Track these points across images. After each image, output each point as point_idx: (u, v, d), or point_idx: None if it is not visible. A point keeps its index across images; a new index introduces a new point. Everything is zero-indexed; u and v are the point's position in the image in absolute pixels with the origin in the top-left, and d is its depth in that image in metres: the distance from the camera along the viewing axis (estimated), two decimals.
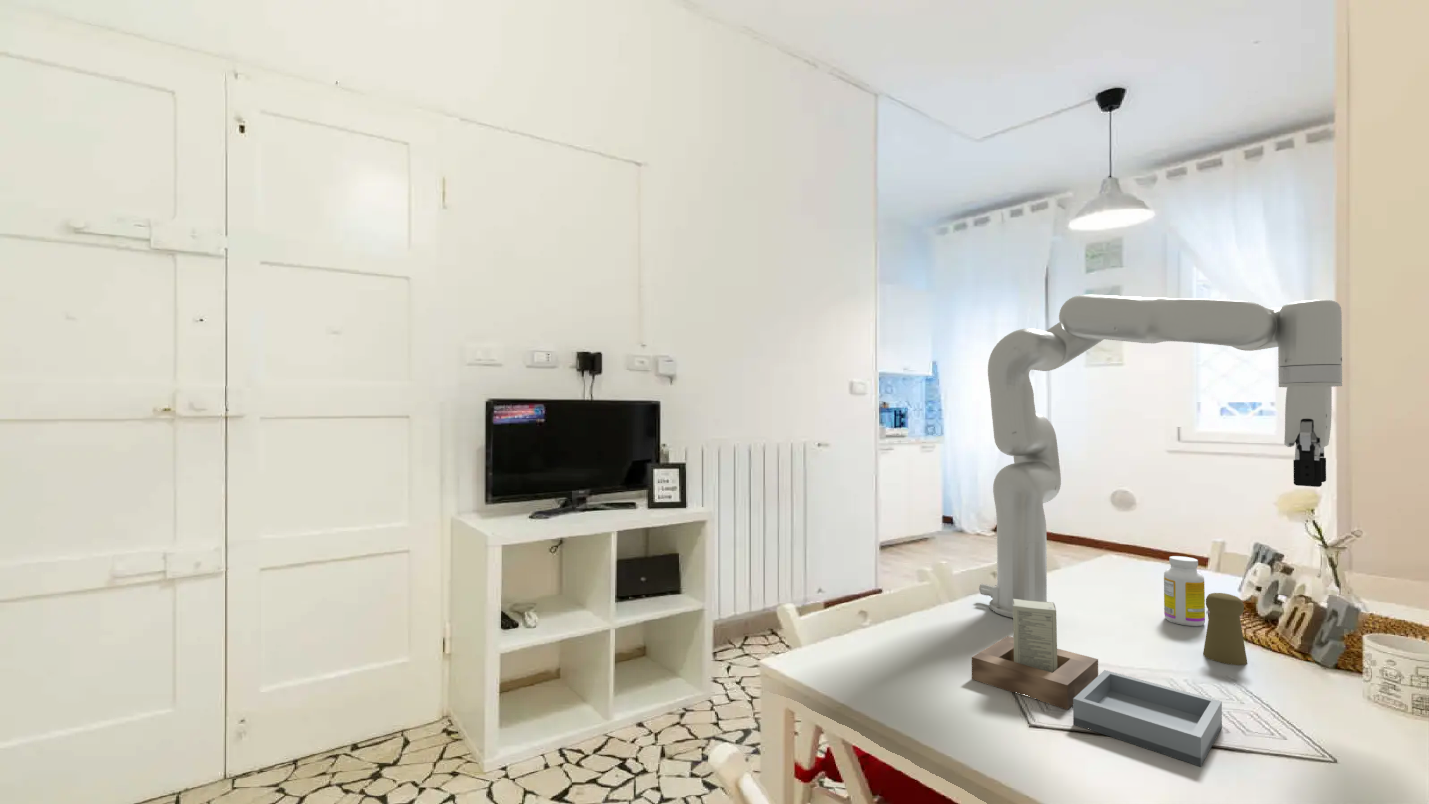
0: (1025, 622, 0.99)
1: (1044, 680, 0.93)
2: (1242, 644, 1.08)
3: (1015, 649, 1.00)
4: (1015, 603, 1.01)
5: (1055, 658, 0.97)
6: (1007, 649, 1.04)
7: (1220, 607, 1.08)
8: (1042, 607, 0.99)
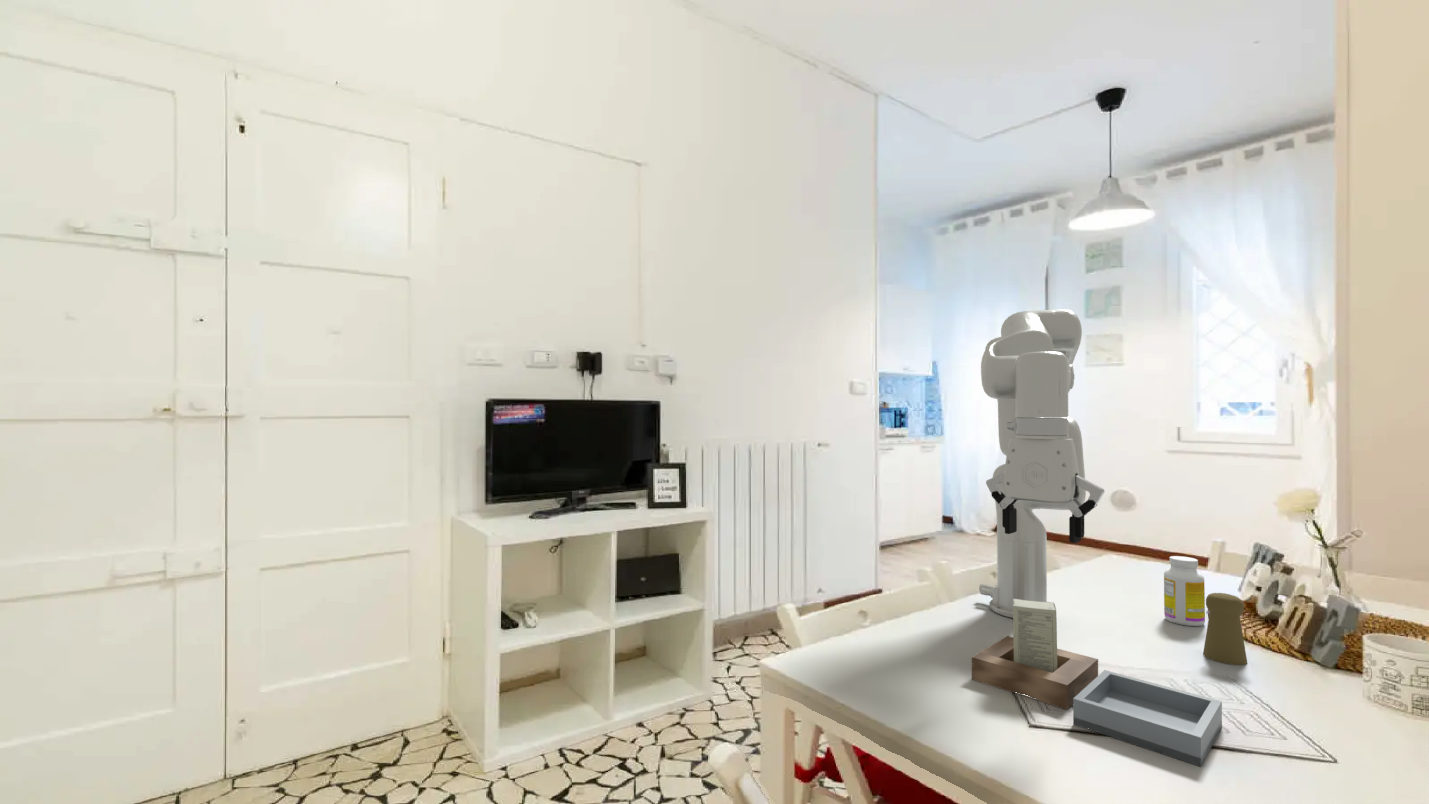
0: (1025, 622, 0.99)
1: (1044, 680, 0.93)
2: (1242, 644, 1.08)
3: (1015, 649, 1.00)
4: (1015, 603, 1.01)
5: (1055, 658, 0.97)
6: (1007, 649, 1.04)
7: (1220, 607, 1.08)
8: (1042, 607, 0.99)
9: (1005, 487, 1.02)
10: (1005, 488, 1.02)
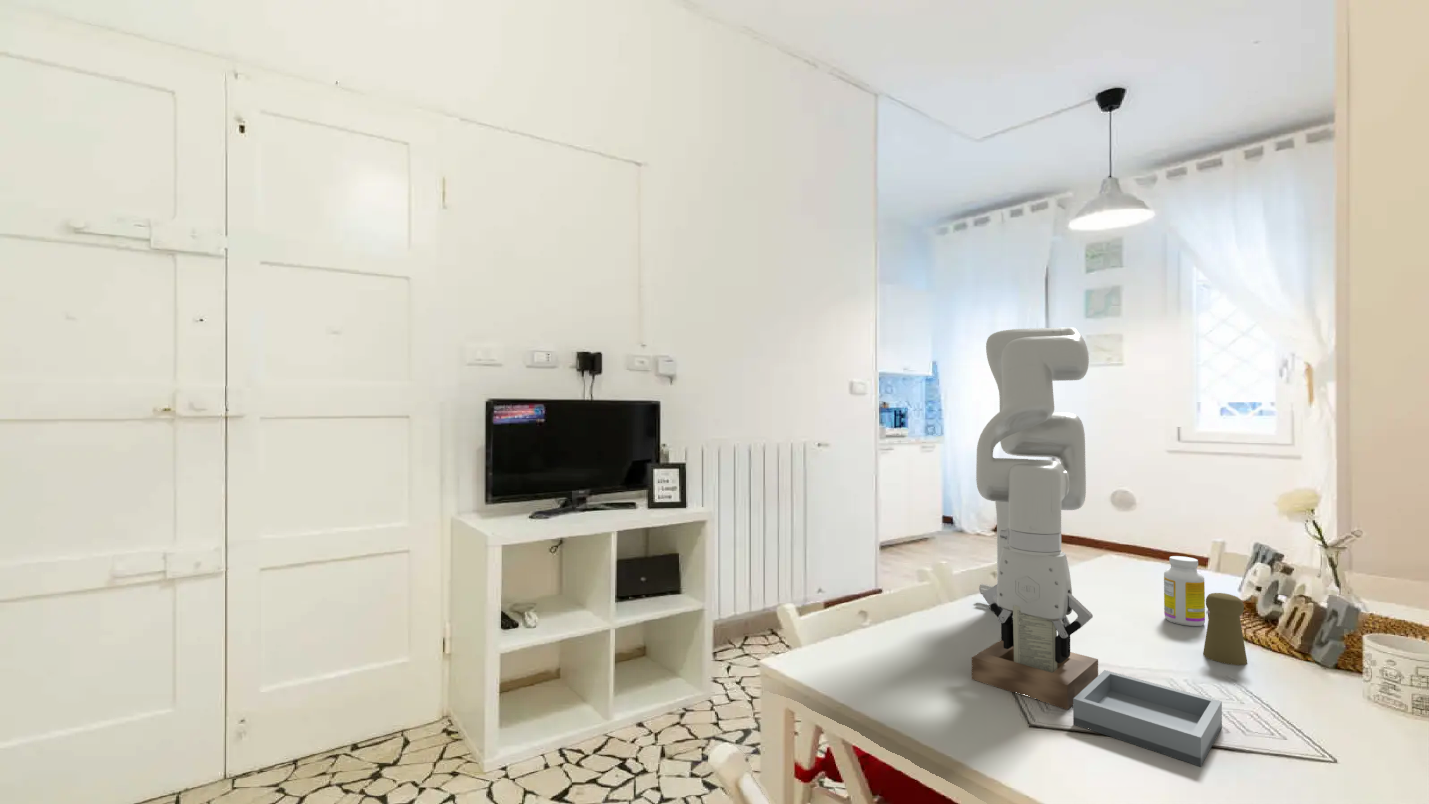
0: (1025, 622, 0.99)
1: (1044, 680, 0.93)
2: (1242, 644, 1.08)
3: (1015, 649, 1.00)
4: None
5: None
6: (1007, 649, 1.04)
7: (1220, 607, 1.08)
8: None
9: (998, 597, 1.02)
10: (998, 599, 1.02)
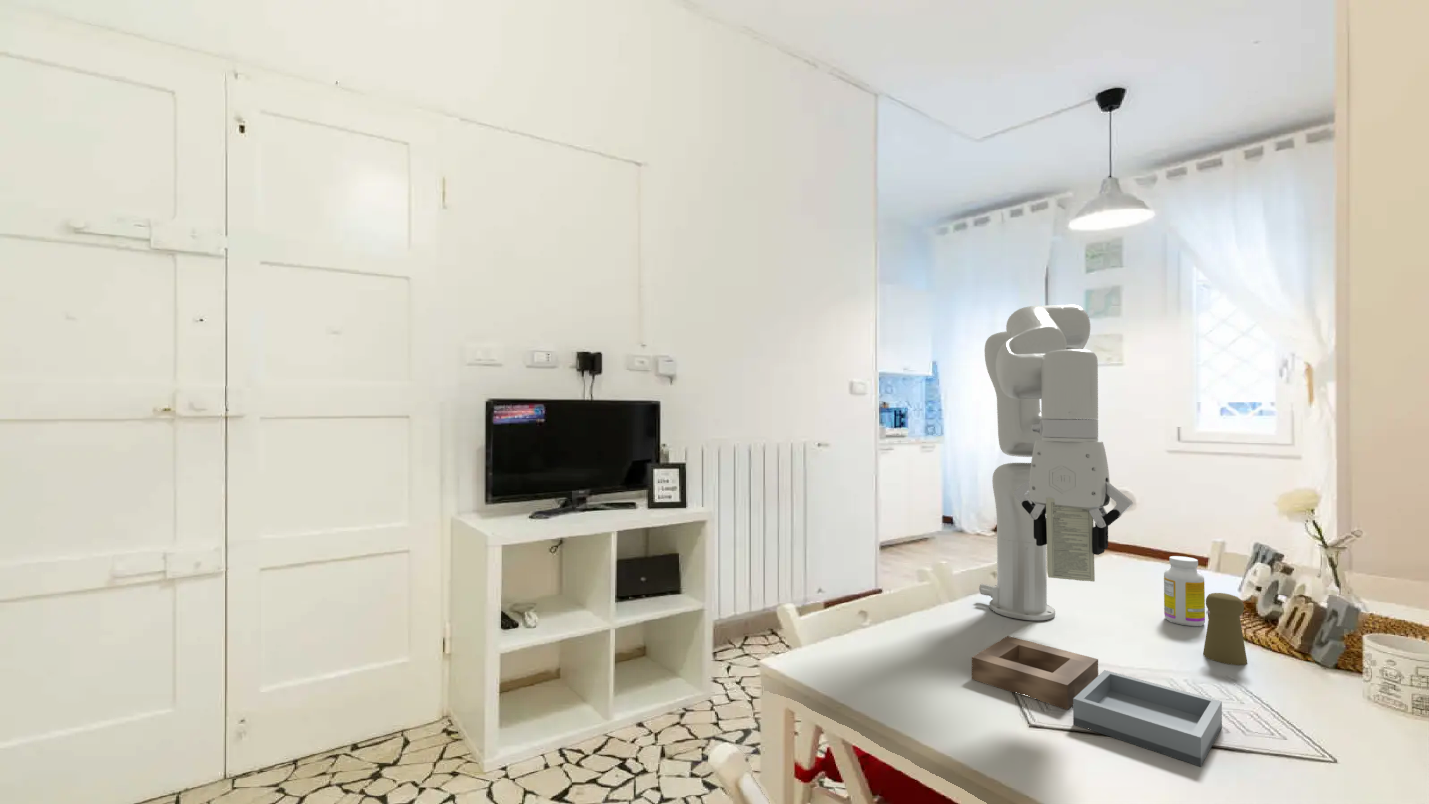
0: (1059, 514, 0.94)
1: (1044, 680, 0.93)
2: (1242, 644, 1.08)
3: (1049, 543, 0.95)
4: None
5: None
6: (1007, 649, 1.04)
7: (1220, 607, 1.08)
8: None
9: (1030, 492, 0.97)
10: (1030, 493, 0.97)
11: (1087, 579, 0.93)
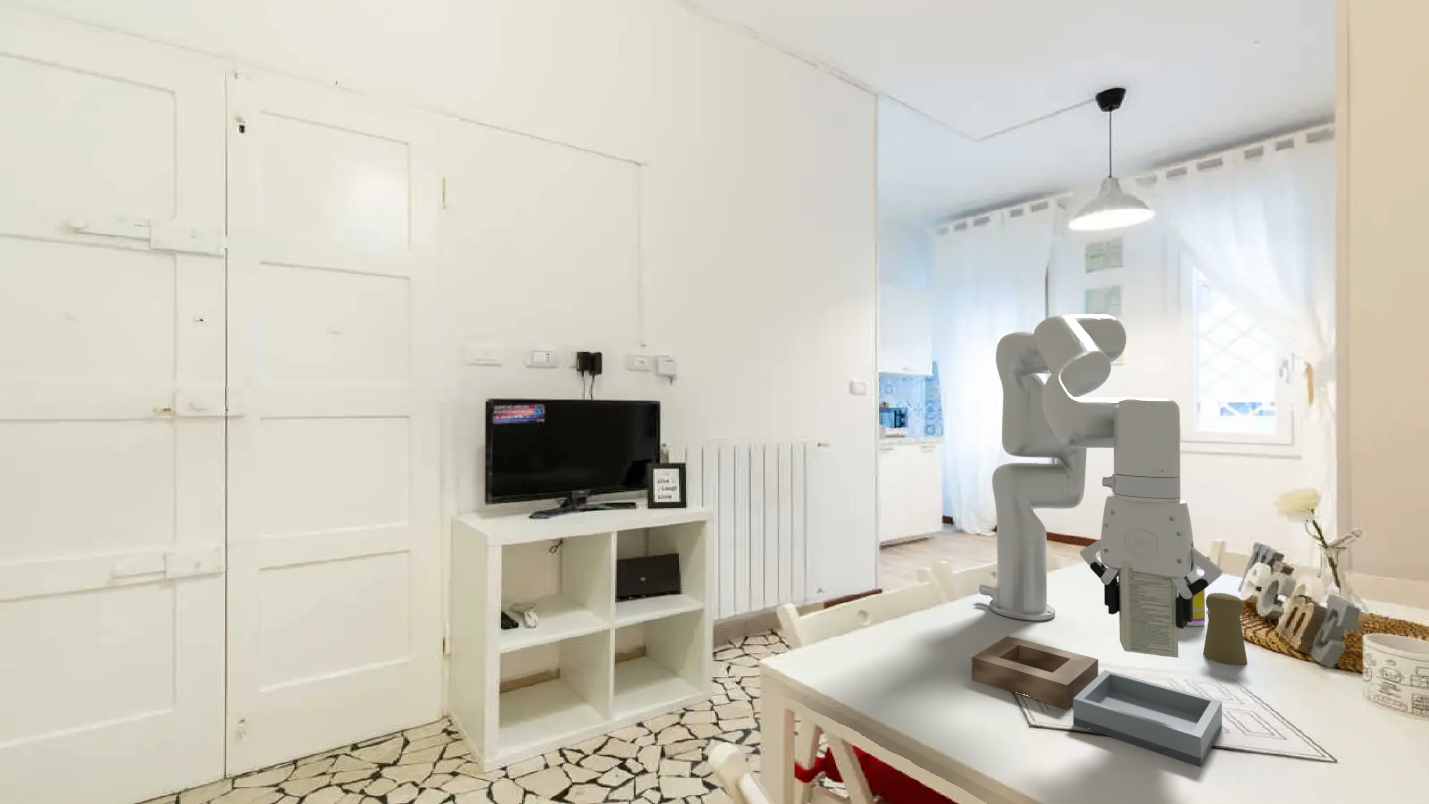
0: (1137, 581, 0.85)
1: (1044, 680, 0.93)
2: (1242, 644, 1.08)
3: (1125, 613, 0.85)
4: None
5: (1175, 623, 0.83)
6: (1007, 649, 1.04)
7: (1220, 607, 1.08)
8: None
9: (1102, 554, 0.88)
10: (1102, 556, 0.88)
11: (1170, 655, 0.83)
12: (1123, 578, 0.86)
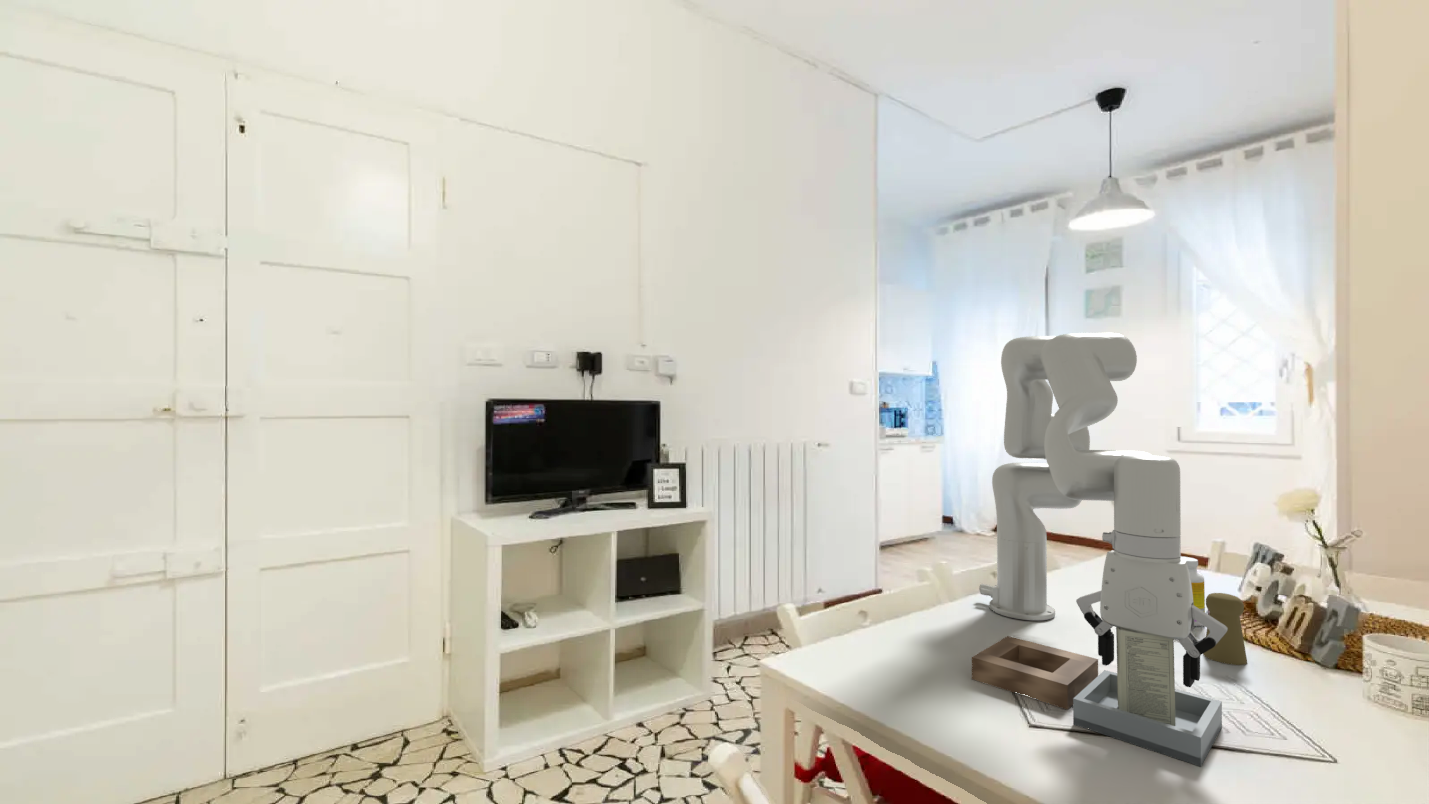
0: (1134, 649, 0.85)
1: (1044, 680, 0.93)
2: (1242, 644, 1.08)
3: (1122, 681, 0.86)
4: None
5: (1172, 692, 0.83)
6: (1007, 649, 1.04)
7: (1220, 607, 1.08)
8: None
9: (1102, 611, 0.88)
10: (1102, 612, 0.88)
11: None
12: (1120, 646, 0.86)
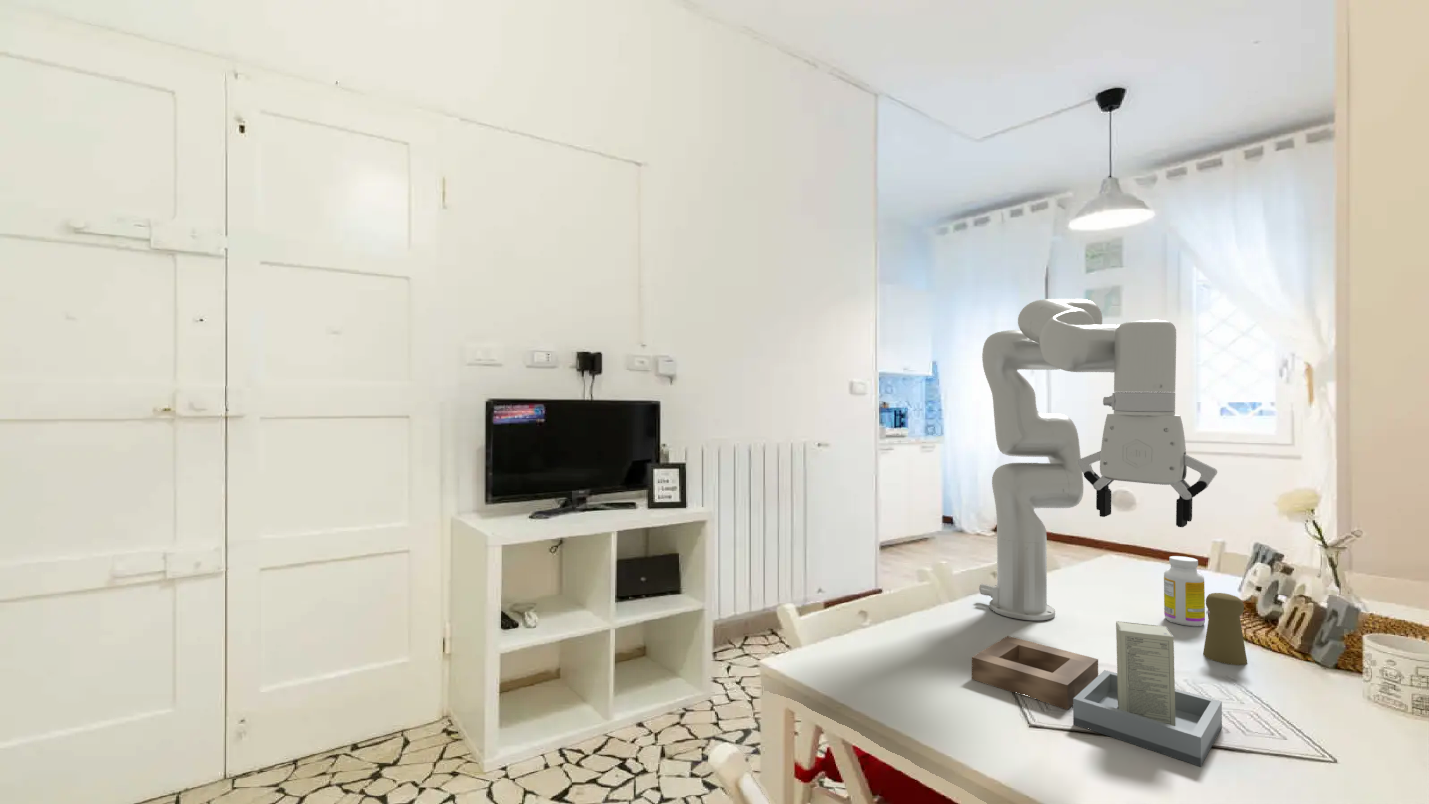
0: (1134, 649, 0.85)
1: (1044, 680, 0.93)
2: (1242, 644, 1.08)
3: (1122, 681, 0.86)
4: (1121, 627, 0.87)
5: (1172, 692, 0.83)
6: (1007, 649, 1.04)
7: (1220, 607, 1.08)
8: (1155, 632, 0.85)
9: (1101, 467, 0.95)
10: (1101, 468, 0.95)
11: None
12: (1120, 646, 0.86)
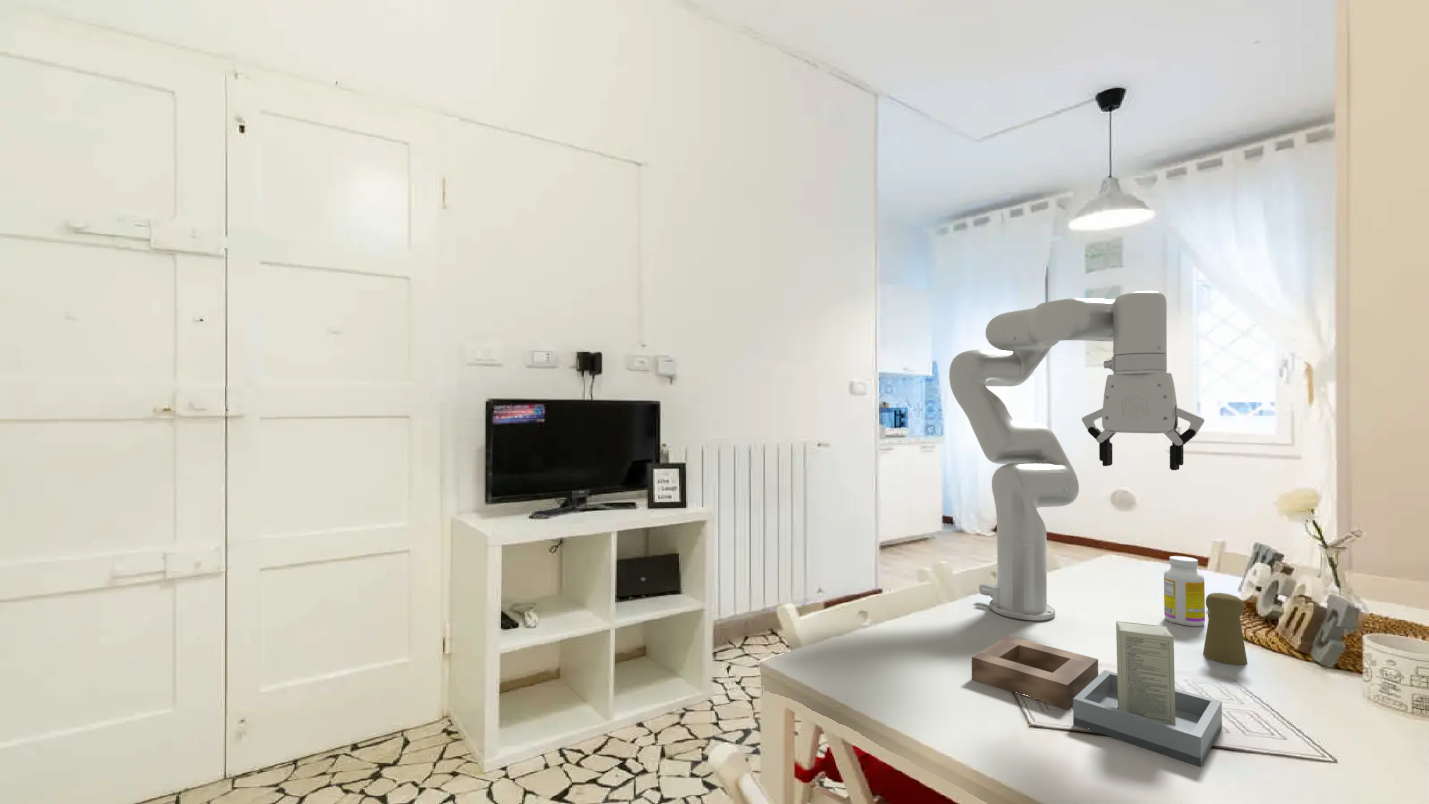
0: (1134, 649, 0.85)
1: (1044, 680, 0.93)
2: (1242, 644, 1.08)
3: (1122, 681, 0.86)
4: (1121, 627, 0.87)
5: (1172, 693, 0.83)
6: (1007, 649, 1.04)
7: (1220, 607, 1.08)
8: (1155, 632, 0.85)
9: (1104, 421, 1.08)
10: (1104, 422, 1.08)
11: None
12: (1121, 646, 0.86)
